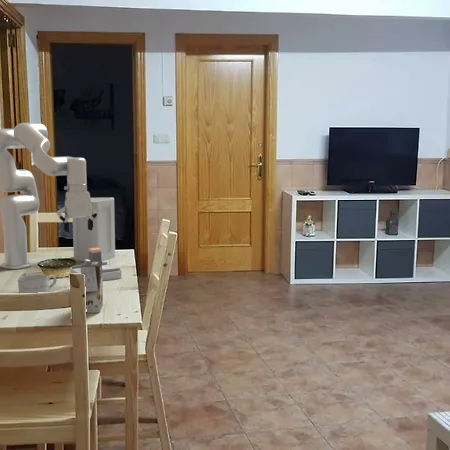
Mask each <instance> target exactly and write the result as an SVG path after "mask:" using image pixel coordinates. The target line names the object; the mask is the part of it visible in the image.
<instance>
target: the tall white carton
mask: <svg viewBox="0 0 450 450" xmlns="http://www.w3.org/2000/svg"><path fill="white" fill-rule="evenodd" d="M90 199H91V206H93V207H95V208H97V209H99V212H98V214H97V216H96V217H95V218H94V220H93V228H92V230H88V220H89V219H88V217H77V218H72V236H73V238H72V239H73V240H72V242H73V243H72V244H73V259H74V260H79V261H83V262H84V261H85V260H86V259H88V260H89V248H100V249H102V252H101V261H102V262H106V261H108V260H111V259H114V258H116V239H115V238H116V233H115V230H116V229H115V198H114V197H90ZM93 213H94V210H92V214H93ZM91 216H92V215H91Z"/></svg>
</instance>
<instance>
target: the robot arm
mask: <svg viewBox="0 0 450 450" xmlns="http://www.w3.org/2000/svg"><path fill="white" fill-rule="evenodd" d="M48 138H49V133H48V129H47V127H46V126H45V125H44V124H42V123H39V122H22V123H21V122H20V123H18V124H17V125H16V126H15V127H14V128H0V190H1V191H2V192H4V193H13V192H14V193H15V192H20V193H19V194H18V193H17V194H10V195H6V196H4V197H3V198H1V200H0V215H1V218H2V231H3V247H4V248H3V249H4V250H3V251H4V262H2V263H1V264H0V265H1V268H3V269H8V270H18V269H25V268H26V269H27V268H29V267H31V266H32V262H31V261H28V260H29V259H28V242H27V240H28V239H27V238H28V236H27V234H28V233H27V226H26V225H27V224H26V223H25V220H24V218H22V217H23V216H29V215H35V214H36V213H37V212H38V211H39V209H40V203H41V202H40V198H39V192H38V188H37V184H36V181H35V180H36V179H35V176H34V175H33V173H32V172H31V171H29V170H27V169H17V167H16V161H15V159H14V156H13V155H12V154H11V153H10V151H8V149H27V150H29V152H31V154H32V159H33V162H34V165H35V166H36V167H37V169H39V170H40V171H41V172H43V174H45V175H47V176H50V177H56V176H57V177H59V176H66V181H67V183H66V186H64V188H63V189H64V190H65V191H66V192H65V198H64V206H63V207H62V208H61V209H59V210H57V211H56V214H57V216H58V218H59V220H60V221H61V222H63V230H64V232H65V233H67V234H68V233H70V223H69V222H68V221H70V219H73V218H77V217H88V219H89V220H88V230H92V228H93V220H94V218H95V217H96V216H97V214H98V212H99V209H97V208H95V207H93V206H91V199H90V198H91V193H90V192H89V191H88V185H87V184H88V183H87V182H88V181H87V160H86V159H85V158H84V157H73V156H50V155H48V154H47V153H48V152H49V151H50V148H51V142H50V140H49V139H48ZM92 210H94V213H93V214H92ZM63 213H64V216H63ZM91 215H92V216H91Z"/></svg>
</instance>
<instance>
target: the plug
mask: <svg viewBox="0 0 450 450" xmlns="http://www.w3.org/2000/svg"><path fill="white" fill-rule="evenodd" d="M101 252H102V249H100V248H89V260H90V261H101Z"/></svg>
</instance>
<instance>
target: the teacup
mask: <svg viewBox="0 0 450 450" xmlns="http://www.w3.org/2000/svg"><path fill="white" fill-rule="evenodd" d="M51 278H53V281H52V283H51V284H49V281H50V280H51ZM17 283H18V284H17V285H18V287H17V288H18V293H19V294H20V293H38V292H48V293H49V291H50V290H51V289H52V288H53V287H54V286H55V285H56V283H57V277H56V276H55V275H54V274H50V275H47V274H27V275H24V276H19V277H18V278H17Z"/></svg>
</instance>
